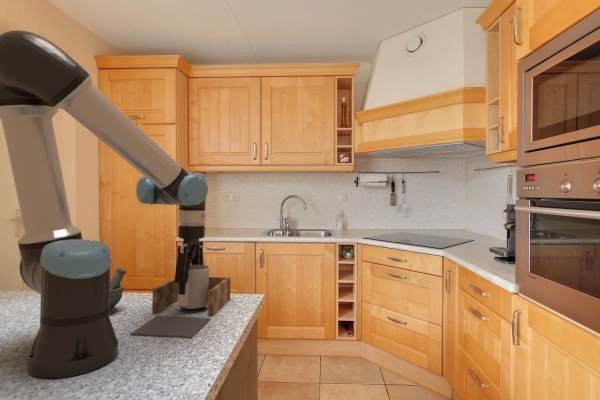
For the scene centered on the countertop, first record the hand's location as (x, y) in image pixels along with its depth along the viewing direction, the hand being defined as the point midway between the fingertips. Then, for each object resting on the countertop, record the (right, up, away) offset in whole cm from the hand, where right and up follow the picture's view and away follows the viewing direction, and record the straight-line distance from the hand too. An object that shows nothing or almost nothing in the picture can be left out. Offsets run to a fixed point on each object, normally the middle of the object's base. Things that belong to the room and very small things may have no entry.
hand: (189, 300), depth 103 cm
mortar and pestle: (-23, -2, -4) cm, 23 cm away
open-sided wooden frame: (0, -2, +3) cm, 4 cm away
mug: (0, -1, +1) cm, 1 cm away
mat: (+1, -2, -15) cm, 15 cm away
